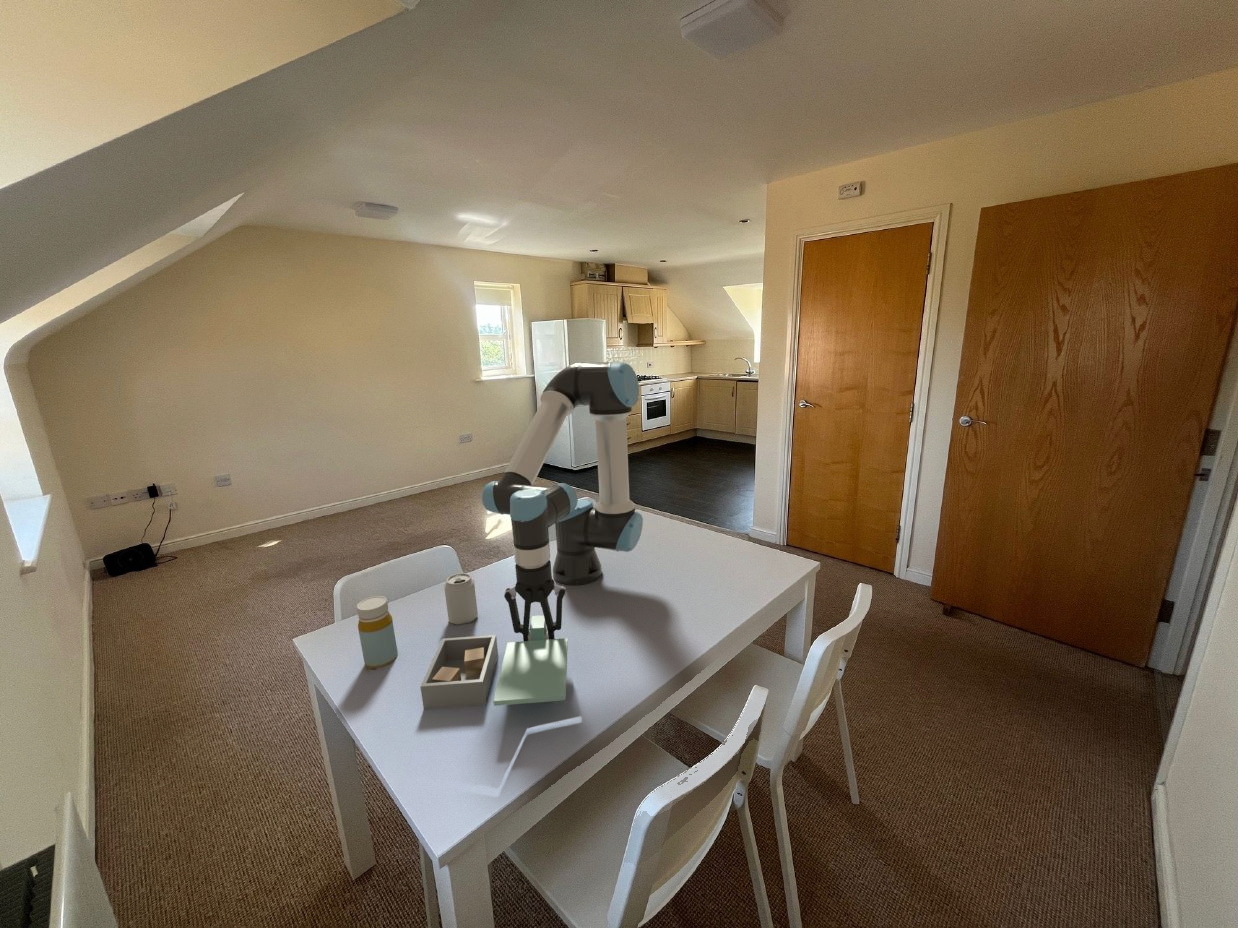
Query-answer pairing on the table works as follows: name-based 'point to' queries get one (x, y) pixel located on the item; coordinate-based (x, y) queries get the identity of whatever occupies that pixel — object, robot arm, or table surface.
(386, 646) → the bottle
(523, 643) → the lid
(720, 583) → the table surface
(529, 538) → the robot arm
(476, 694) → the tub
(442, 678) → the block
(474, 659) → the block
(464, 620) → the can
